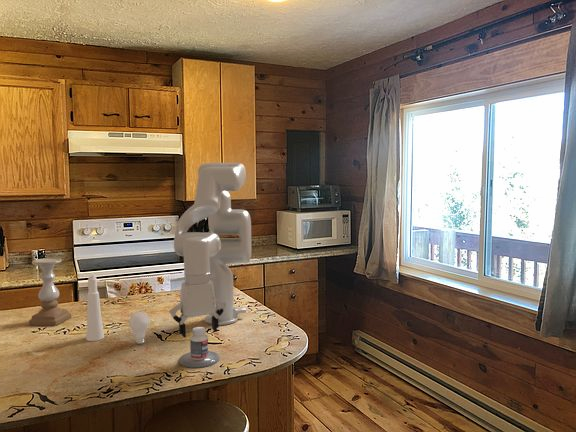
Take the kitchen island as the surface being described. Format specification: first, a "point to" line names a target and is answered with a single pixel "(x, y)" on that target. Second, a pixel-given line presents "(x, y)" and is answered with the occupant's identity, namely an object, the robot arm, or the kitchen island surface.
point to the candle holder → (48, 297)
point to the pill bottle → (199, 344)
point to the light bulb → (139, 325)
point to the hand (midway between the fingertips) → (199, 333)
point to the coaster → (188, 362)
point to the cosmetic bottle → (93, 312)
